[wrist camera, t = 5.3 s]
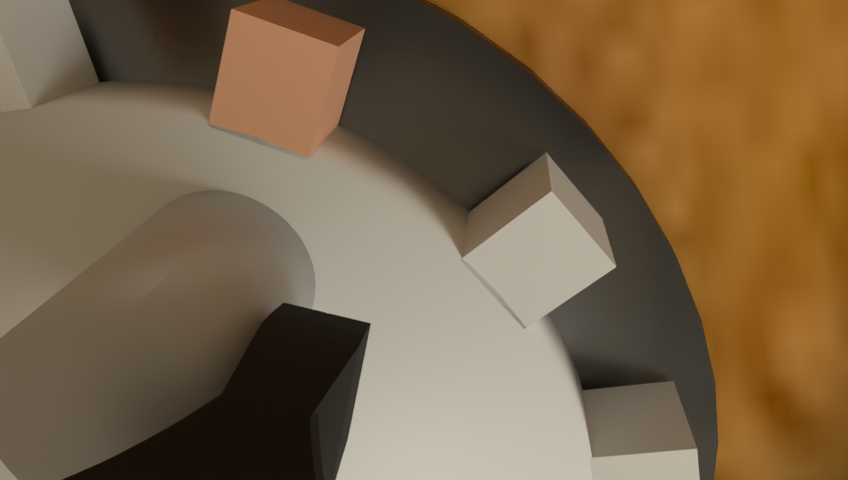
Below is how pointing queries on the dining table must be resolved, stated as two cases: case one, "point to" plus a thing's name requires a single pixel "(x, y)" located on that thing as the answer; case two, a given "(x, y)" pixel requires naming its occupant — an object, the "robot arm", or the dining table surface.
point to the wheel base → (466, 162)
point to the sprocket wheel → (285, 267)
